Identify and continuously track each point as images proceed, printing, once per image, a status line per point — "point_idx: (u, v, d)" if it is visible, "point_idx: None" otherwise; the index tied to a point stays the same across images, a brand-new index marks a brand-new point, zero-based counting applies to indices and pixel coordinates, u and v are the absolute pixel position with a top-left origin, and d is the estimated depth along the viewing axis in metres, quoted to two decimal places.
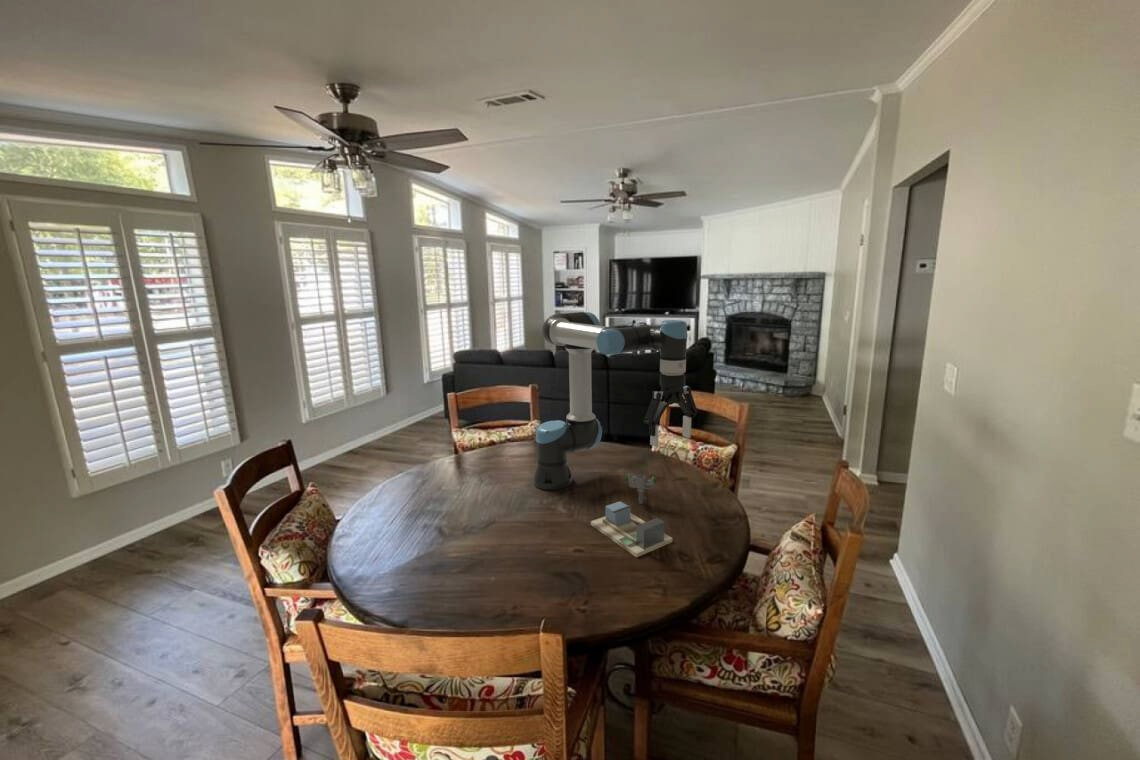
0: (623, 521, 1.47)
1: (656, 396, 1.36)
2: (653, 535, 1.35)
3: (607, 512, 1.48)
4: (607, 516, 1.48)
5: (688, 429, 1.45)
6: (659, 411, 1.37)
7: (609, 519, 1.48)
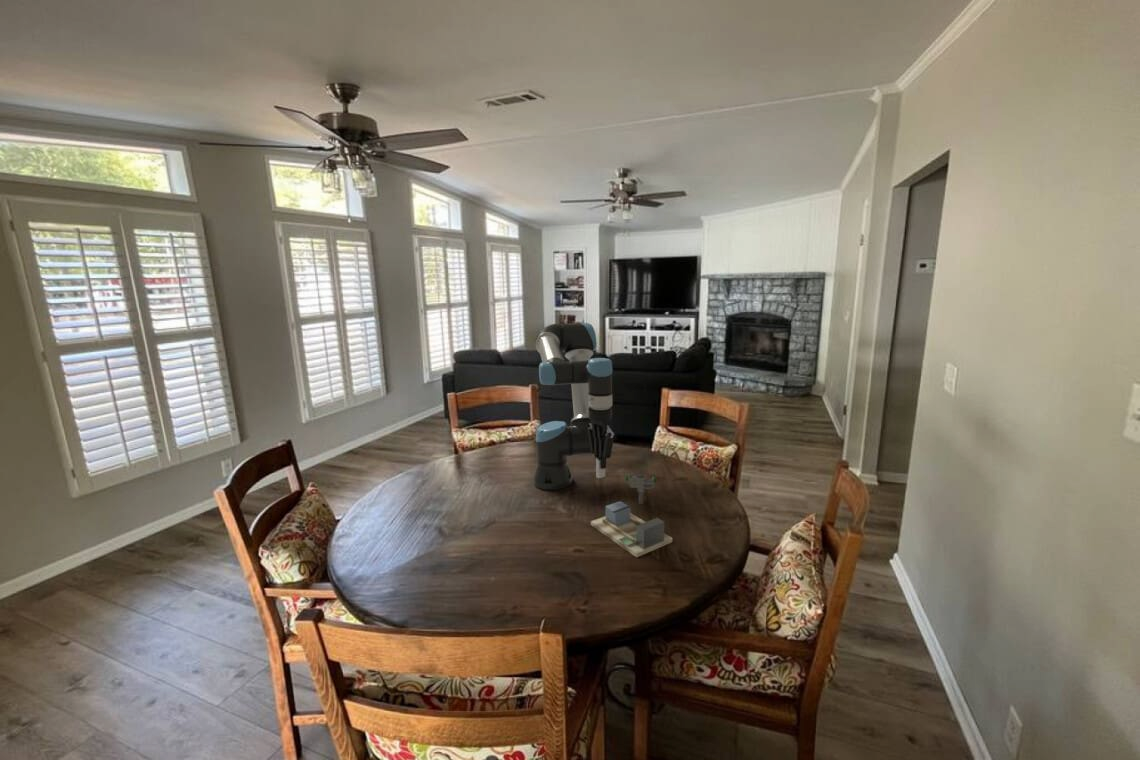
0: (623, 521, 1.47)
1: None
2: (653, 535, 1.35)
3: (607, 512, 1.48)
4: (607, 516, 1.48)
5: None
6: None
7: (609, 519, 1.48)
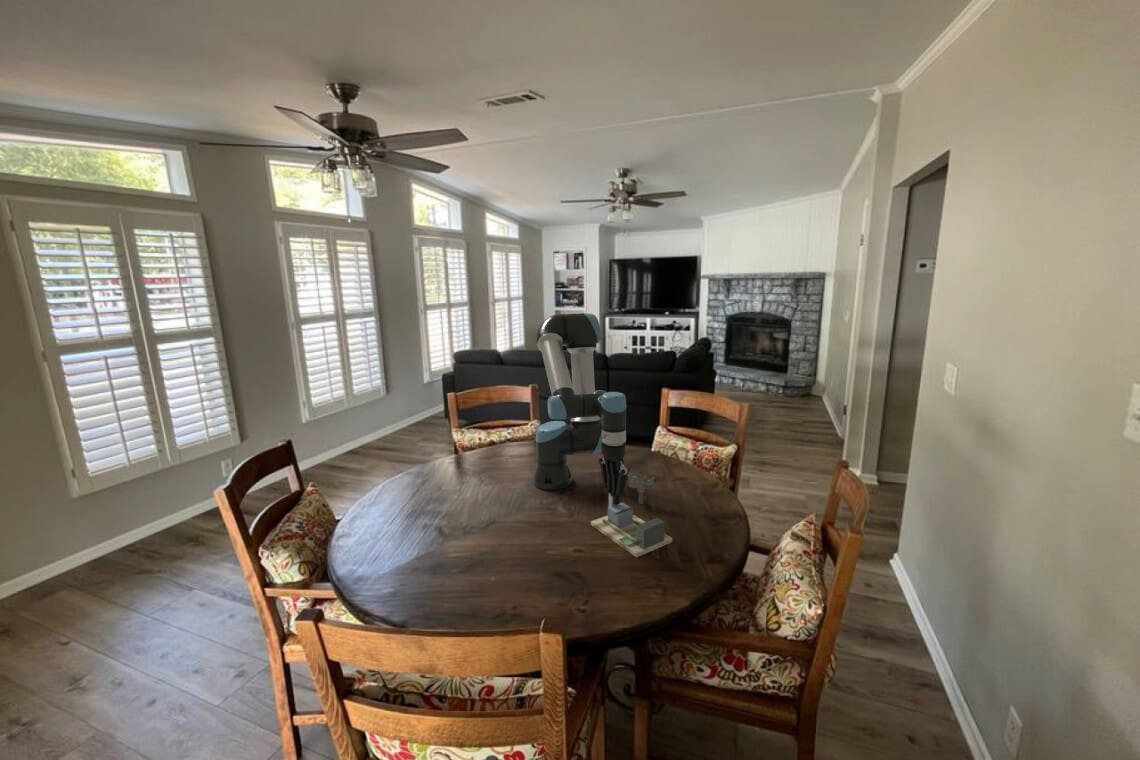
0: (626, 523, 1.46)
1: None
2: (653, 535, 1.35)
3: (609, 514, 1.47)
4: (609, 517, 1.47)
5: None
6: None
7: (611, 521, 1.47)
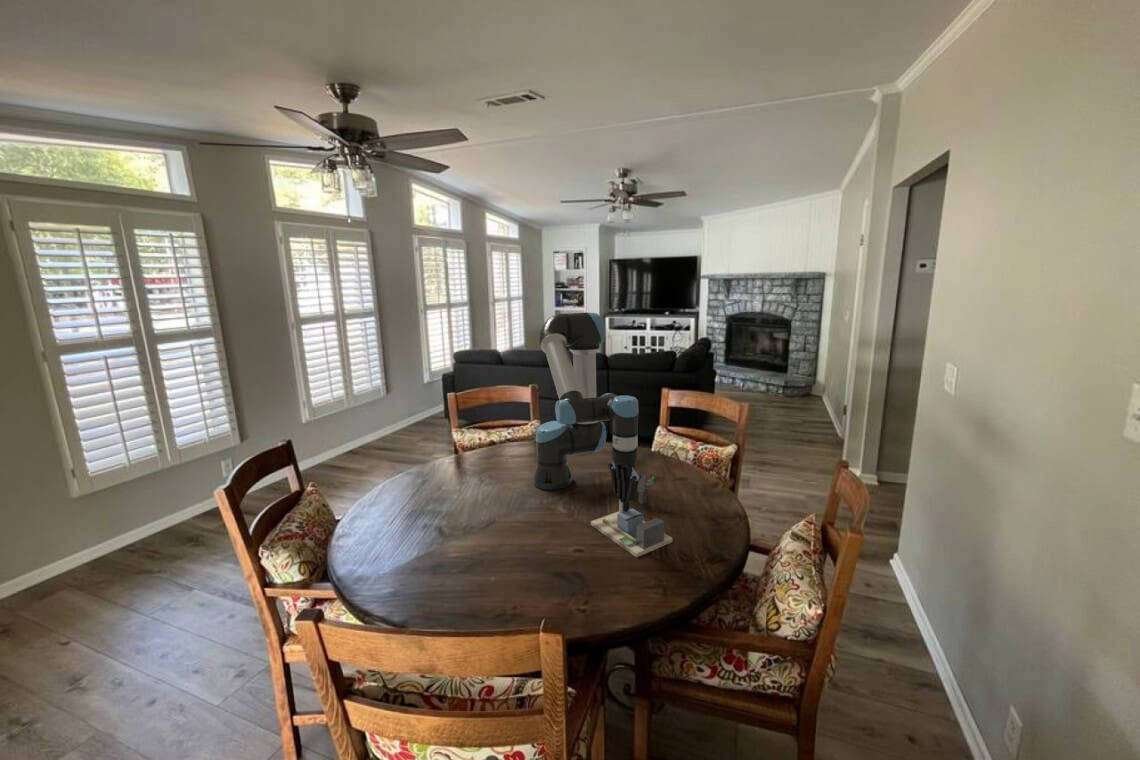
0: (636, 529, 1.42)
1: None
2: (653, 535, 1.35)
3: (619, 520, 1.43)
4: (619, 524, 1.43)
5: None
6: None
7: (621, 527, 1.43)
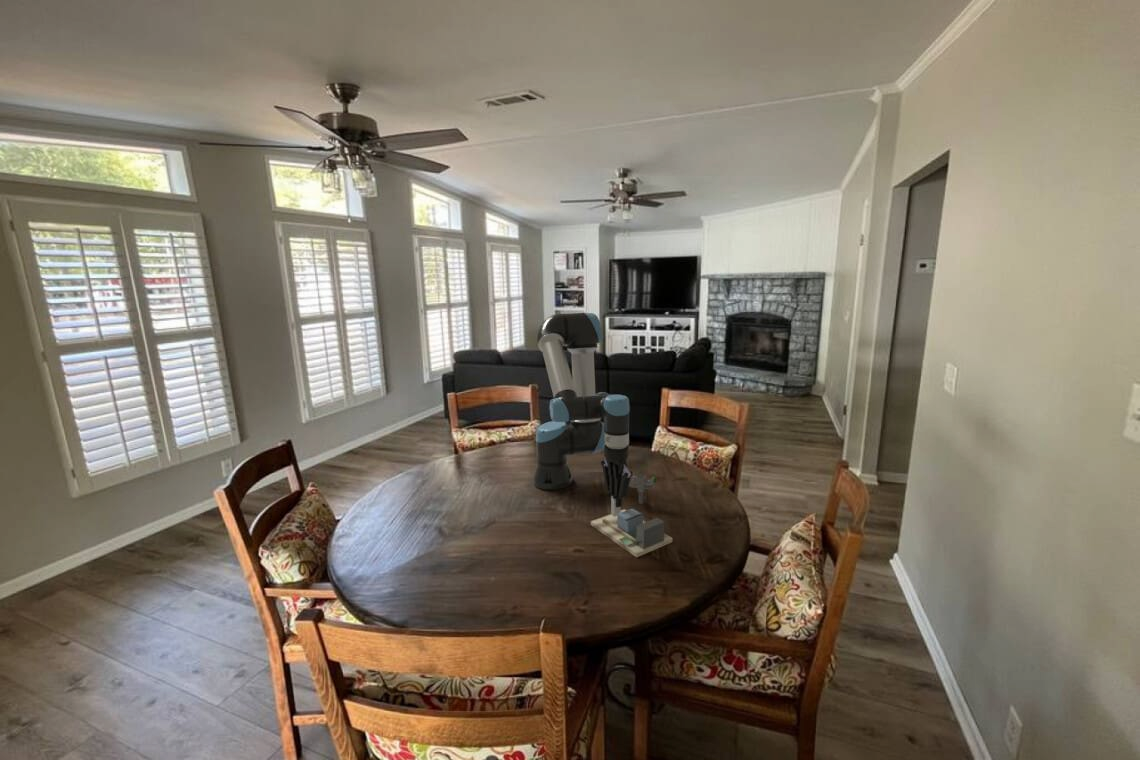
0: (636, 529, 1.42)
1: None
2: (653, 535, 1.35)
3: (619, 520, 1.43)
4: (619, 524, 1.43)
5: None
6: None
7: (621, 527, 1.43)
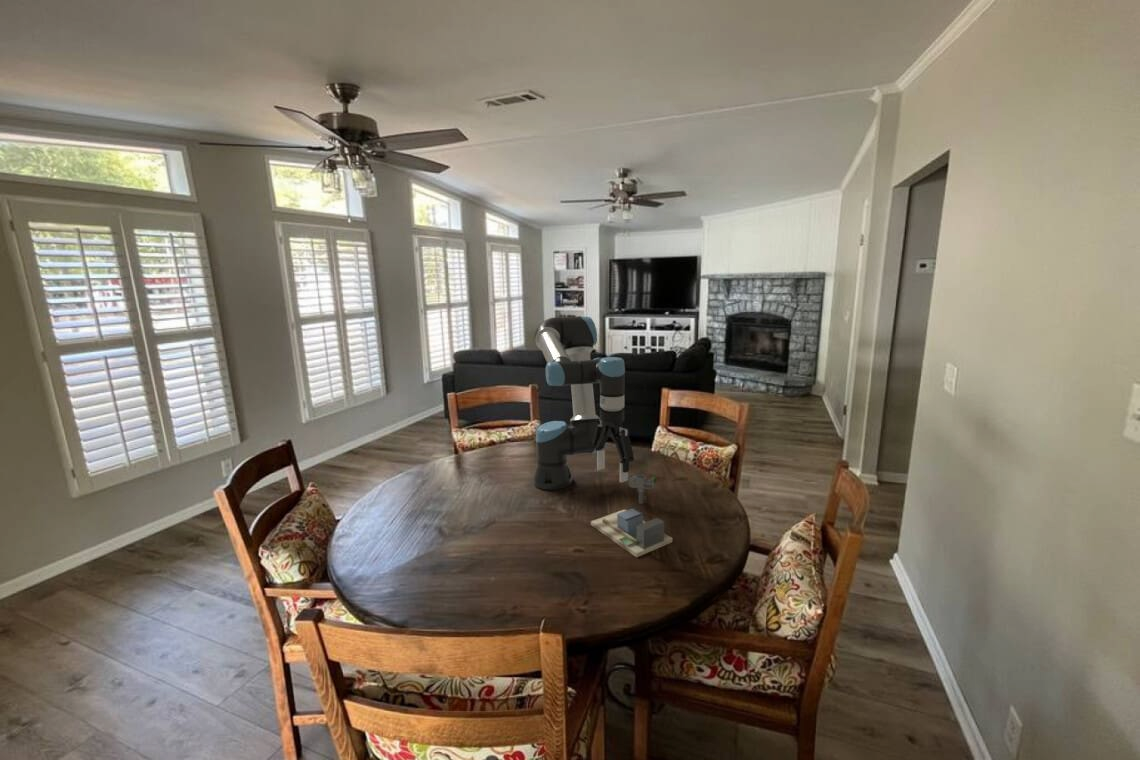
0: (636, 529, 1.42)
1: None
2: (653, 535, 1.35)
3: (619, 520, 1.43)
4: (619, 524, 1.43)
5: None
6: None
7: (621, 527, 1.43)
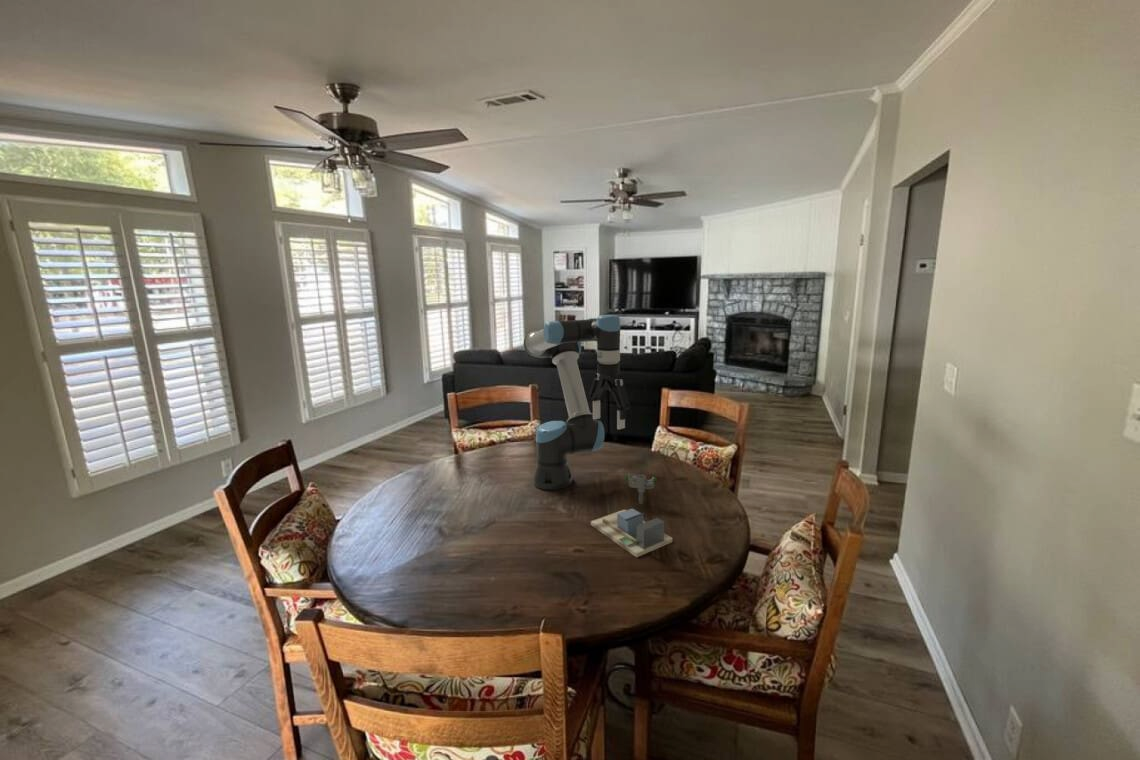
0: (636, 529, 1.42)
1: None
2: (653, 535, 1.35)
3: (619, 520, 1.43)
4: (619, 524, 1.43)
5: None
6: None
7: (621, 527, 1.43)
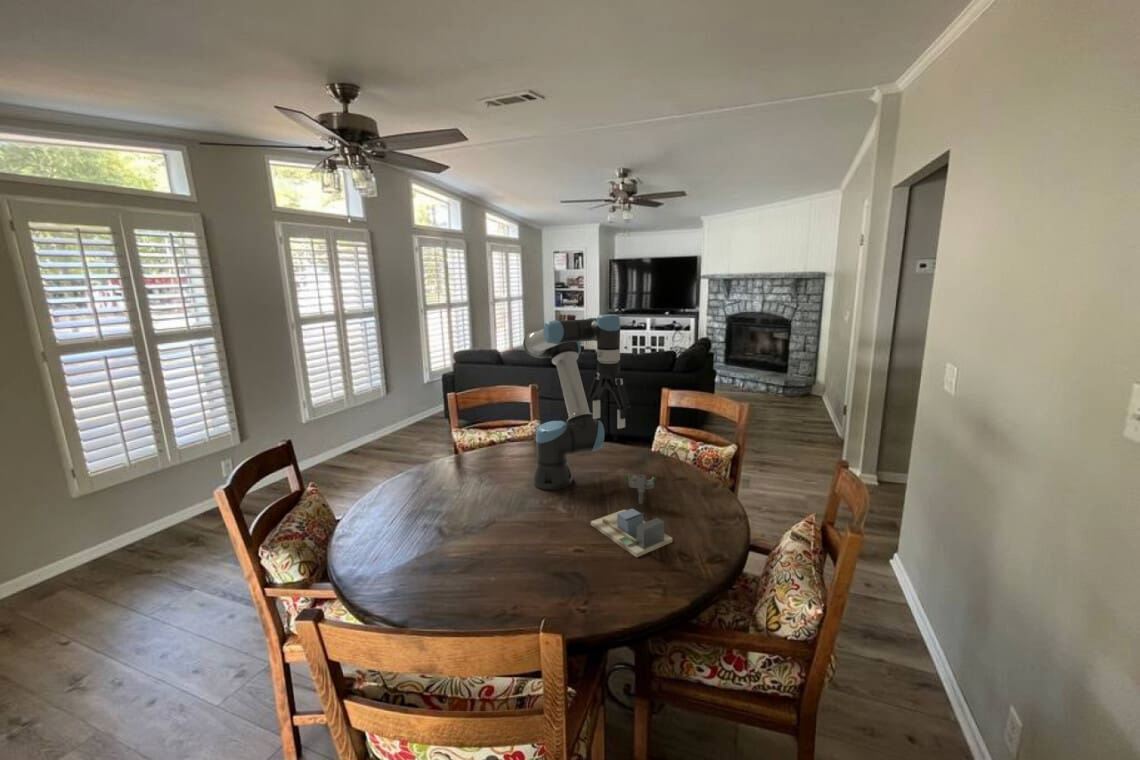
0: (636, 529, 1.42)
1: None
2: (653, 535, 1.35)
3: (619, 520, 1.43)
4: (619, 524, 1.43)
5: None
6: None
7: (621, 527, 1.43)
